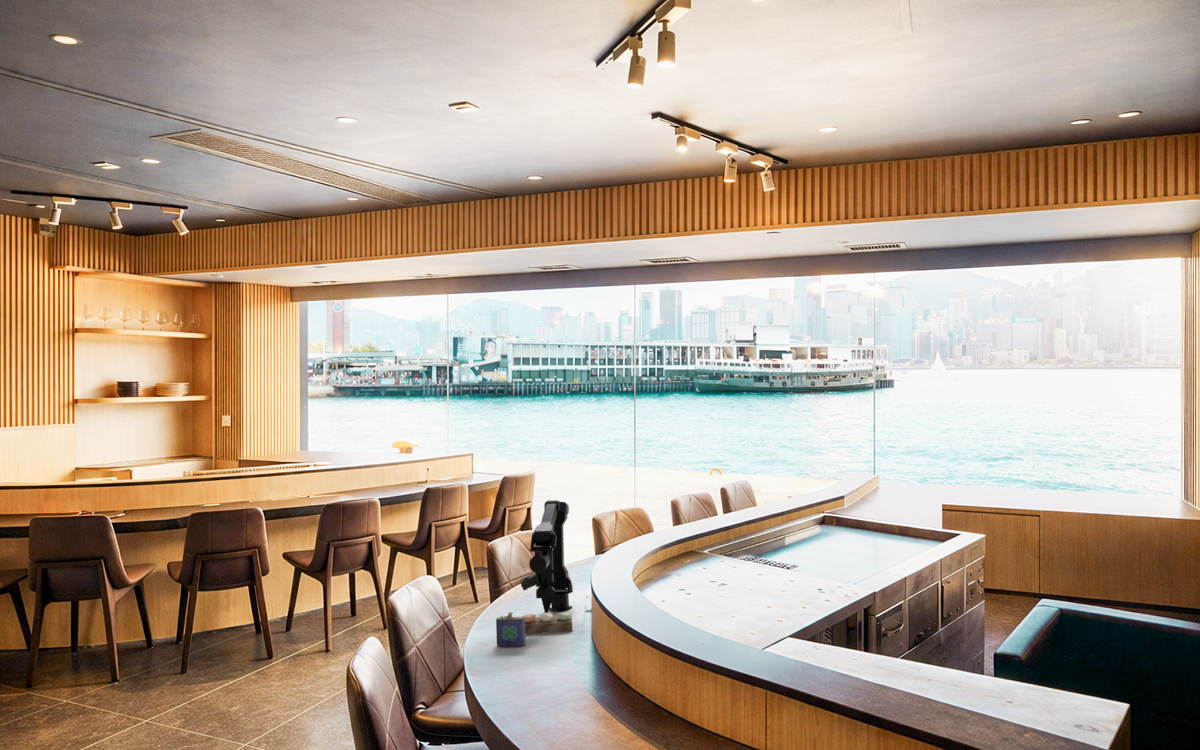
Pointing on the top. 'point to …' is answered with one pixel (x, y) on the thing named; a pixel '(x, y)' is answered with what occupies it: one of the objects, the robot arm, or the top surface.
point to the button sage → (564, 616)
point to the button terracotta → (529, 618)
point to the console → (548, 626)
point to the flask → (510, 631)
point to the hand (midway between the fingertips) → (546, 612)
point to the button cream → (546, 617)
